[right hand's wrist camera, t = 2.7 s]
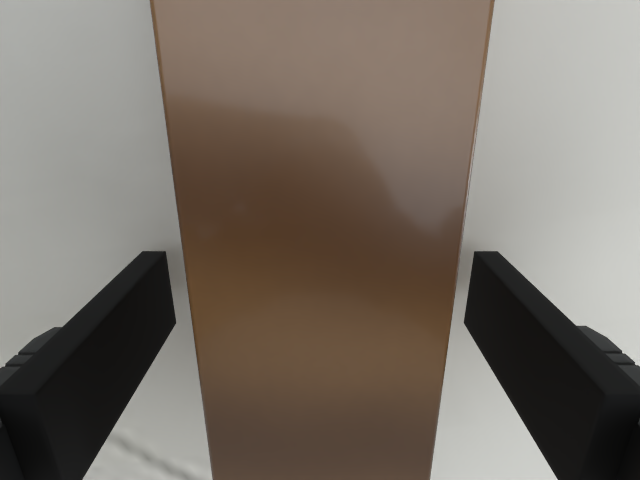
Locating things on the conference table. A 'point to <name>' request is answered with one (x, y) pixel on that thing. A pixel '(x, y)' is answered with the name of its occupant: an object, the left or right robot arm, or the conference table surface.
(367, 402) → the post
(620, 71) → the conference table surface
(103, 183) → the conference table surface
